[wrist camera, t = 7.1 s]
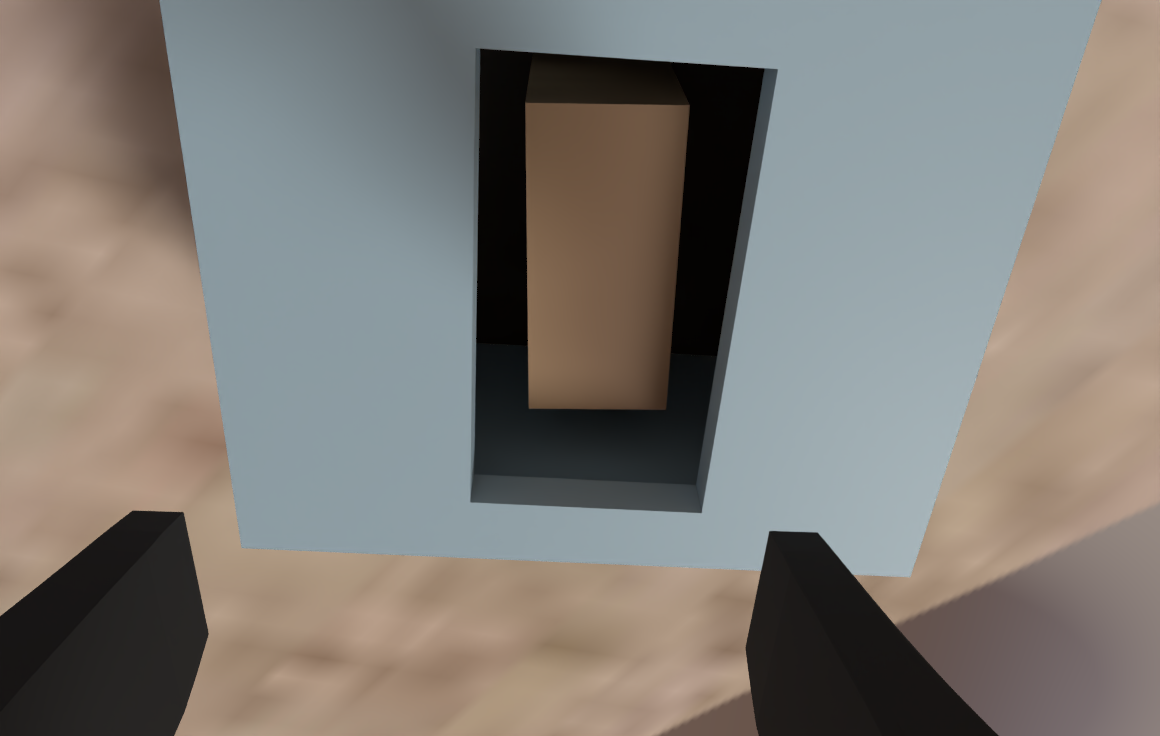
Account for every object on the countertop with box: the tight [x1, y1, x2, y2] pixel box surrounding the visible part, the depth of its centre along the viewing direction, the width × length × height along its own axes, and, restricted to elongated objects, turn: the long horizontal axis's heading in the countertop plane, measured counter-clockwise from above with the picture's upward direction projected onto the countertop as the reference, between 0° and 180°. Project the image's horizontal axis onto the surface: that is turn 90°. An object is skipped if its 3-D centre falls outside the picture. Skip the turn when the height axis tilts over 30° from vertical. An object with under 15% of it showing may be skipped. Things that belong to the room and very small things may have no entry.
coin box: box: [159, 0, 1101, 577], centre depth 17 cm, size 12×10×6 cm
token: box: [525, 52, 690, 410], centre depth 17 cm, size 2×6×5 cm, turn 179°
